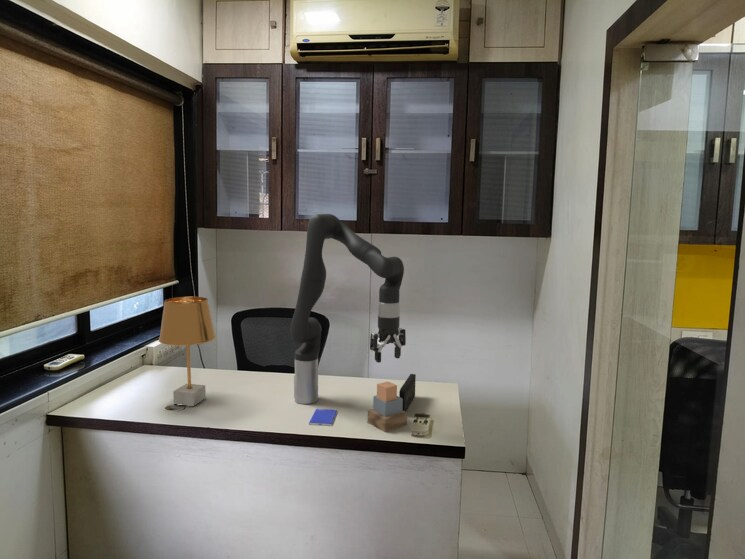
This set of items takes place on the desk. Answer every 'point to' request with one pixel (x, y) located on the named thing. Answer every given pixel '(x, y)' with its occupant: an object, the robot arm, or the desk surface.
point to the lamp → (187, 337)
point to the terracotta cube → (386, 391)
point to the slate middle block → (388, 406)
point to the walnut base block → (387, 420)
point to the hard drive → (323, 417)
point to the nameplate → (408, 391)
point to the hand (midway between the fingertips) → (387, 359)
